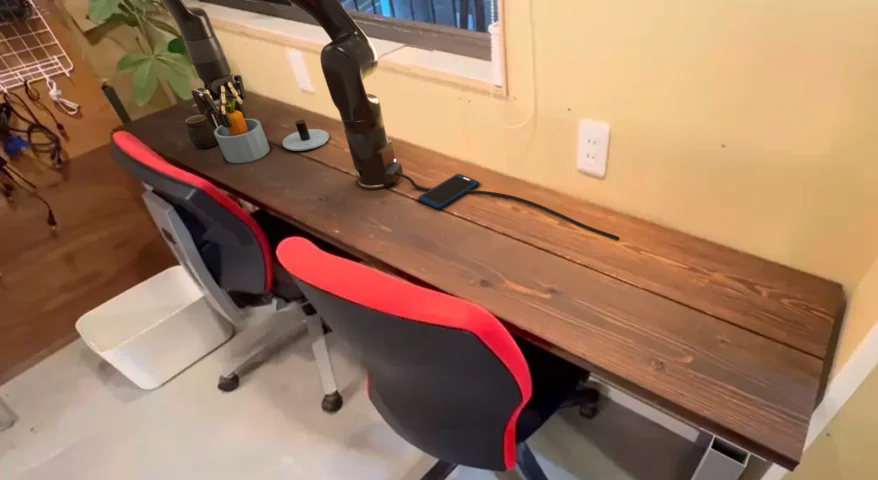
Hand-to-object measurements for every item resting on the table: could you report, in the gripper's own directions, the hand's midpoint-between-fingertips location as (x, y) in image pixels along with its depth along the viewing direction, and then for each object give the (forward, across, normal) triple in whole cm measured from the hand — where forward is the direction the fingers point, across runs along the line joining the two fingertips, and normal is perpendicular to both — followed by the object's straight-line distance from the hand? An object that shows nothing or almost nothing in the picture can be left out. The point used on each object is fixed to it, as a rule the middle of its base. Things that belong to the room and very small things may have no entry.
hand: (235, 122), depth 137 cm
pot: (+9, 0, 0) cm, 9 cm away
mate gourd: (+9, +2, +15) cm, 18 cm away
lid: (+8, +9, -13) cm, 18 cm away
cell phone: (+9, -8, -63) cm, 64 cm away
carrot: (+9, 0, 0) cm, 9 cm away
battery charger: (+9, +13, +21) cm, 26 cm away
